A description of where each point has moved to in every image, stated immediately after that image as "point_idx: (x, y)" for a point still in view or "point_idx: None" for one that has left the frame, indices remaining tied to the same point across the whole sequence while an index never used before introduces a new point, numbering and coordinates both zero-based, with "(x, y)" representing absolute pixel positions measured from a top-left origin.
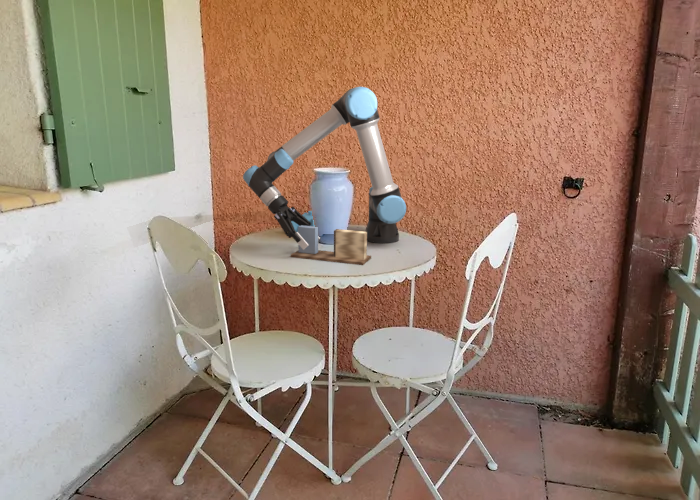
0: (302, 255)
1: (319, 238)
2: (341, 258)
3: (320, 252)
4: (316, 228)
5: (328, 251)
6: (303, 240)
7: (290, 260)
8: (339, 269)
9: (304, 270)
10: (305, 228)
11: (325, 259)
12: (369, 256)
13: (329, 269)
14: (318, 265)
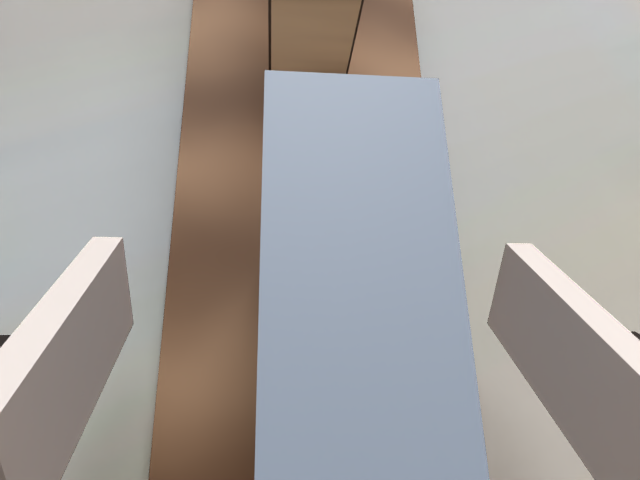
0: None
1: (119, 240)
2: (369, 24)
3: (252, 240)
4: (357, 86)
5: (185, 183)
6: (580, 291)
7: (563, 450)
8: (556, 4)
9: None
10: (460, 305)
11: None
12: None
13: (594, 57)
14: (555, 153)
